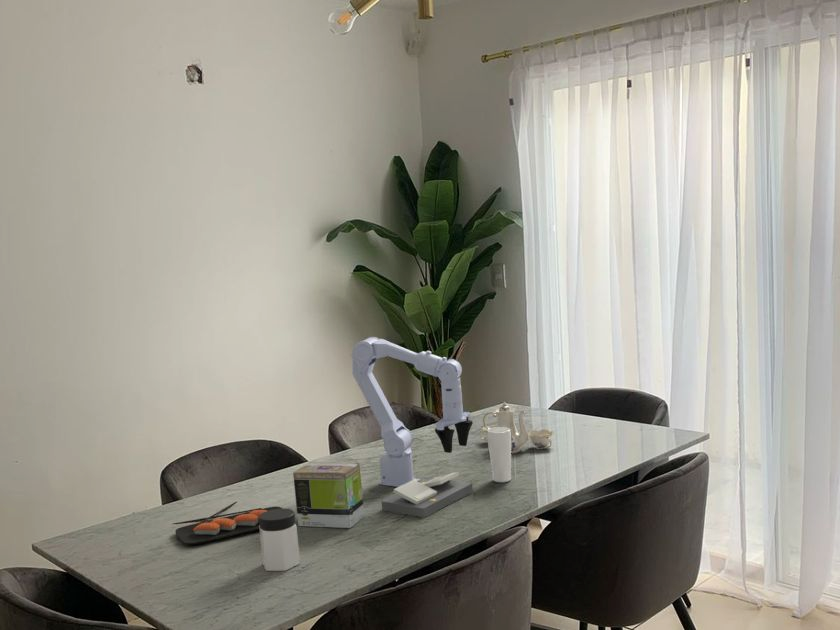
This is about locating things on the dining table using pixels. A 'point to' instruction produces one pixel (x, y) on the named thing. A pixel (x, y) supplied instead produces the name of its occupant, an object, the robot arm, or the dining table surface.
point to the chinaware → (517, 440)
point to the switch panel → (444, 497)
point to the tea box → (329, 495)
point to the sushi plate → (220, 526)
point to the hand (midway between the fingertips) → (455, 448)
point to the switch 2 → (441, 479)
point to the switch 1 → (415, 492)
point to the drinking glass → (500, 453)
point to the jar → (278, 539)
